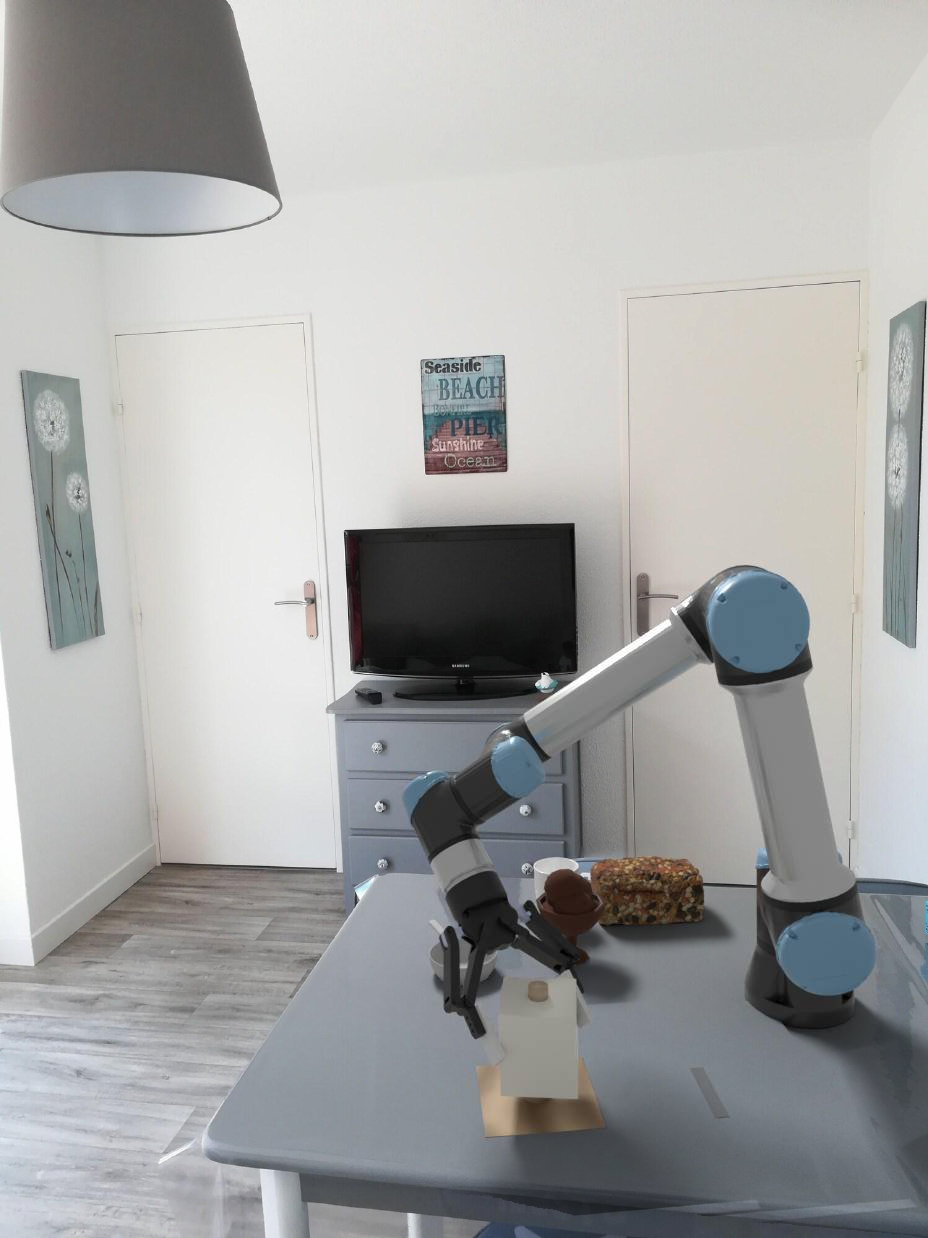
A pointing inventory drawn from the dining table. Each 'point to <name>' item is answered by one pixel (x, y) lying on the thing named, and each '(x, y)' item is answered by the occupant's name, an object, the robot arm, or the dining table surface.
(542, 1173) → the dining table surface
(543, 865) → the white cup
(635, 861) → the bread
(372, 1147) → the dining table surface
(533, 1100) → the cork
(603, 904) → the ice cream bowl
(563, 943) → the robot arm
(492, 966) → the saucepan
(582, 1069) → the board
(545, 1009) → the knobbed white box
